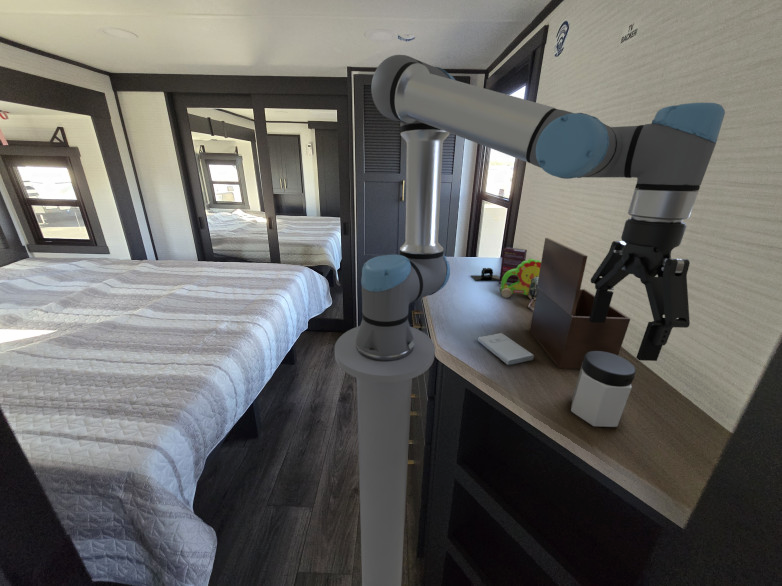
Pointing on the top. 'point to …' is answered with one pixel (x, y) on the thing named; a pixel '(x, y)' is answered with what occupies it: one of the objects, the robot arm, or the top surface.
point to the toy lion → (521, 278)
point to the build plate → (486, 276)
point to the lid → (561, 274)
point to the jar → (602, 388)
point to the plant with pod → (533, 291)
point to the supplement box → (511, 263)
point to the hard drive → (505, 349)
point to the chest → (575, 330)
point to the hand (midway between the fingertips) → (618, 338)
